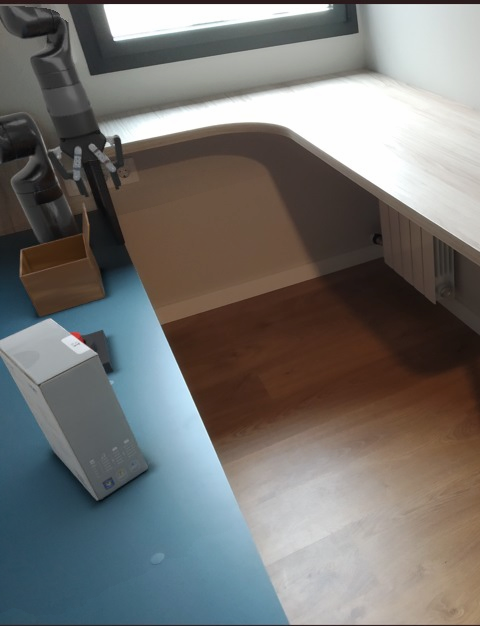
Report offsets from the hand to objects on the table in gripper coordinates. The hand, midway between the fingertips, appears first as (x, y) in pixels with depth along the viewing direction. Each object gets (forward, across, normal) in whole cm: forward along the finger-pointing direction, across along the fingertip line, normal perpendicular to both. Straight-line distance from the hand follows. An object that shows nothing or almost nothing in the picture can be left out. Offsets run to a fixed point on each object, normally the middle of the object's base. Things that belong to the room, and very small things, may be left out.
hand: (102, 191), depth 127 cm
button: (+16, +13, +31) cm, 37 cm away
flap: (+6, +6, 0) cm, 8 cm away
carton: (+19, +13, 0) cm, 23 cm away
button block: (+19, +13, +31) cm, 39 cm away
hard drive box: (+20, +12, +59) cm, 63 cm away
